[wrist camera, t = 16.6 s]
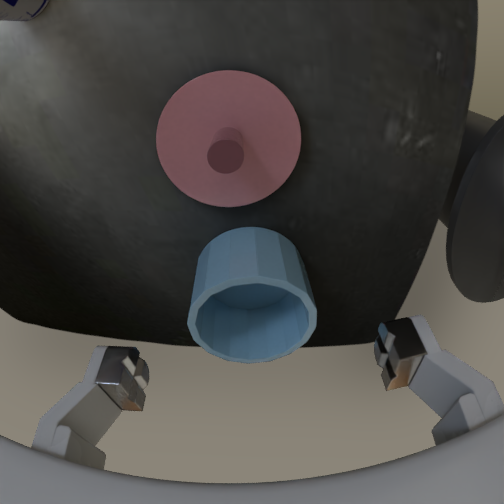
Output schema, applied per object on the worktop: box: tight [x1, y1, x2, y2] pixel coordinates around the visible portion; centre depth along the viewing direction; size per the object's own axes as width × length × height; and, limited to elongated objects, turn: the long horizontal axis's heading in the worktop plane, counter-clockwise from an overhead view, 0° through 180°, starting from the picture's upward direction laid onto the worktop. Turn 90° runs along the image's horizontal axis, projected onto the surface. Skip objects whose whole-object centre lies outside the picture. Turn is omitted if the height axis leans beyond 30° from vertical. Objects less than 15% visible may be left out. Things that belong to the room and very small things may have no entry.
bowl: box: [187, 227, 317, 363], centre depth 32 cm, size 13×13×8 cm
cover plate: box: [156, 70, 301, 207], centre depth 24 cm, size 13×13×6 cm
